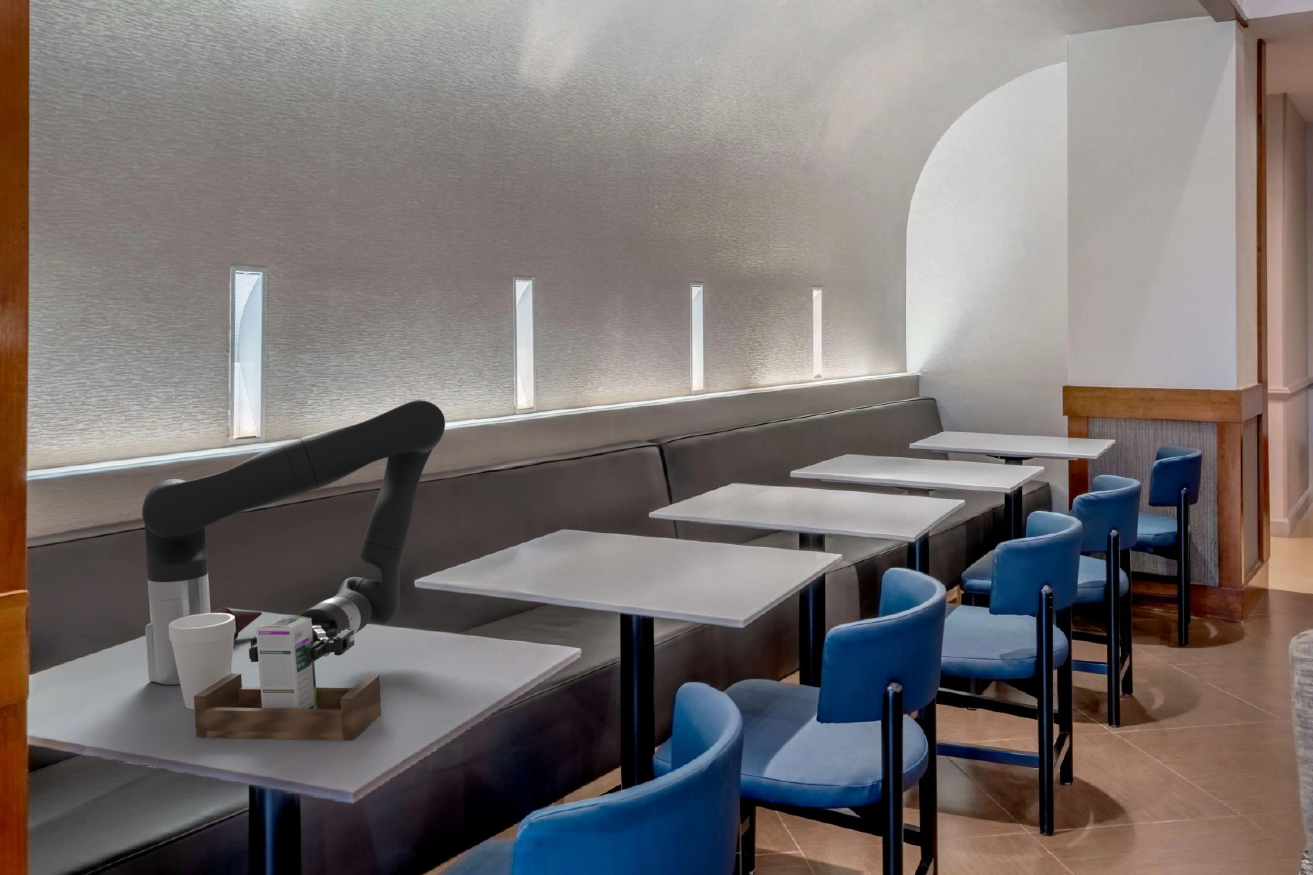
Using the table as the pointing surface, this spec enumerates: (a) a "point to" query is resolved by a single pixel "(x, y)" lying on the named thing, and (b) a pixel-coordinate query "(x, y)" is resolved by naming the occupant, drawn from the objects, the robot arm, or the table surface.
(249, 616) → the icecream
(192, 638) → the foam cup
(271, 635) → the syrup box
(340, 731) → the wooden crate tray
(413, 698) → the table surface
